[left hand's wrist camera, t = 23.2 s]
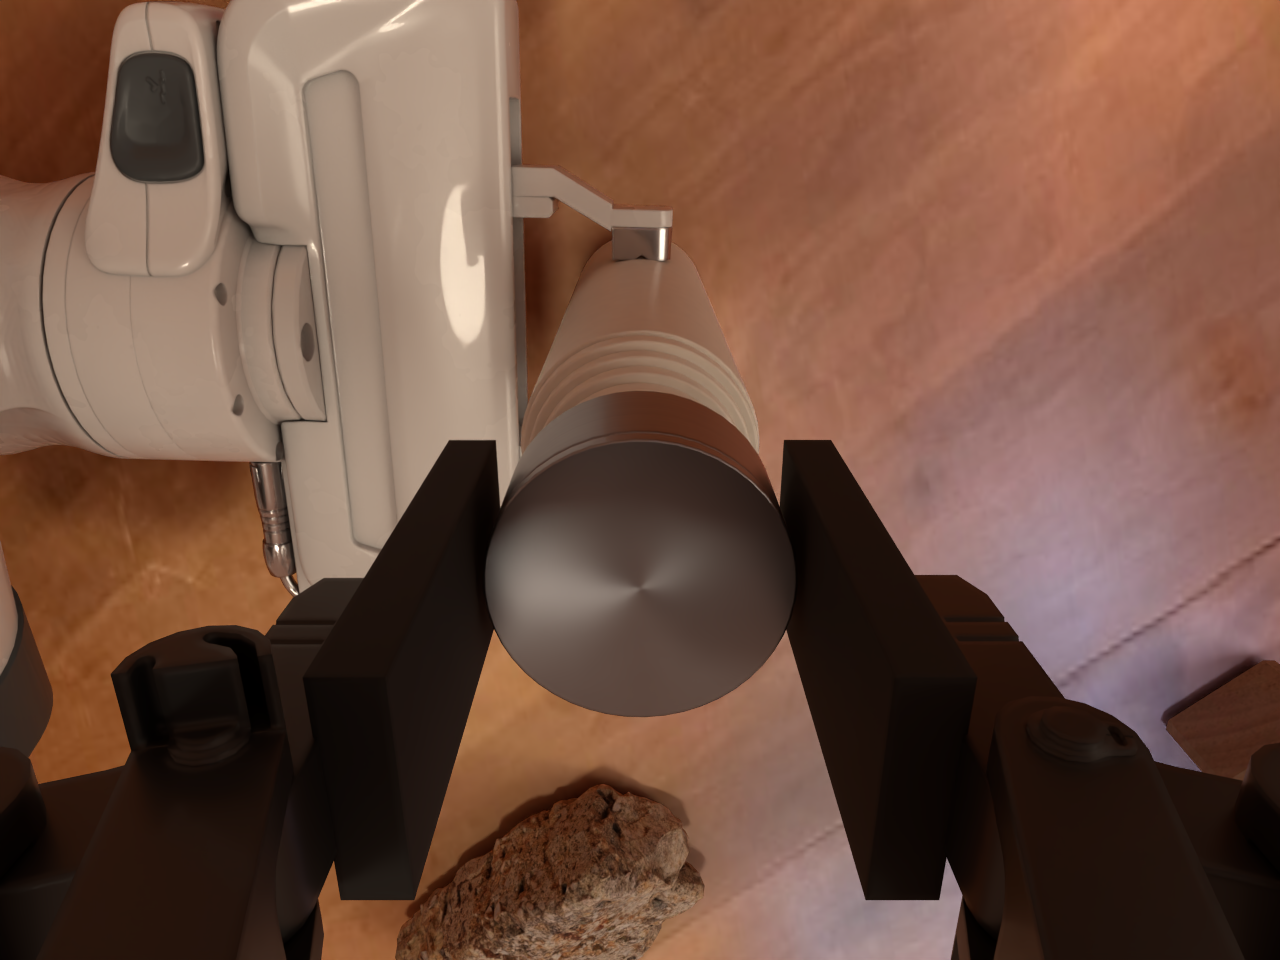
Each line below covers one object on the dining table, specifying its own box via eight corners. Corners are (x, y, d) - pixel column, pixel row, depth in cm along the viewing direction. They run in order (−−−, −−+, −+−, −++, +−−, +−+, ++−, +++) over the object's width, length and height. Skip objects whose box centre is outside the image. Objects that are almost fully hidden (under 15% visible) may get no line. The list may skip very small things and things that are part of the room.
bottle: (678, 213, 32) (746, 358, 12) (719, 334, 34) (841, 647, 13) (557, 260, 33) (420, 475, 12) (604, 376, 34) (552, 736, 14)
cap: (828, 488, 14) (863, 555, 12) (669, 674, 16) (673, 765, 13) (606, 333, 13) (599, 375, 11) (457, 545, 15) (424, 620, 12)
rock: (594, 743, 41) (587, 835, 35) (744, 859, 43) (760, 960, 38) (394, 917, 45) (362, 1023, 39) (543, 1014, 47) (532, 1125, 42)
